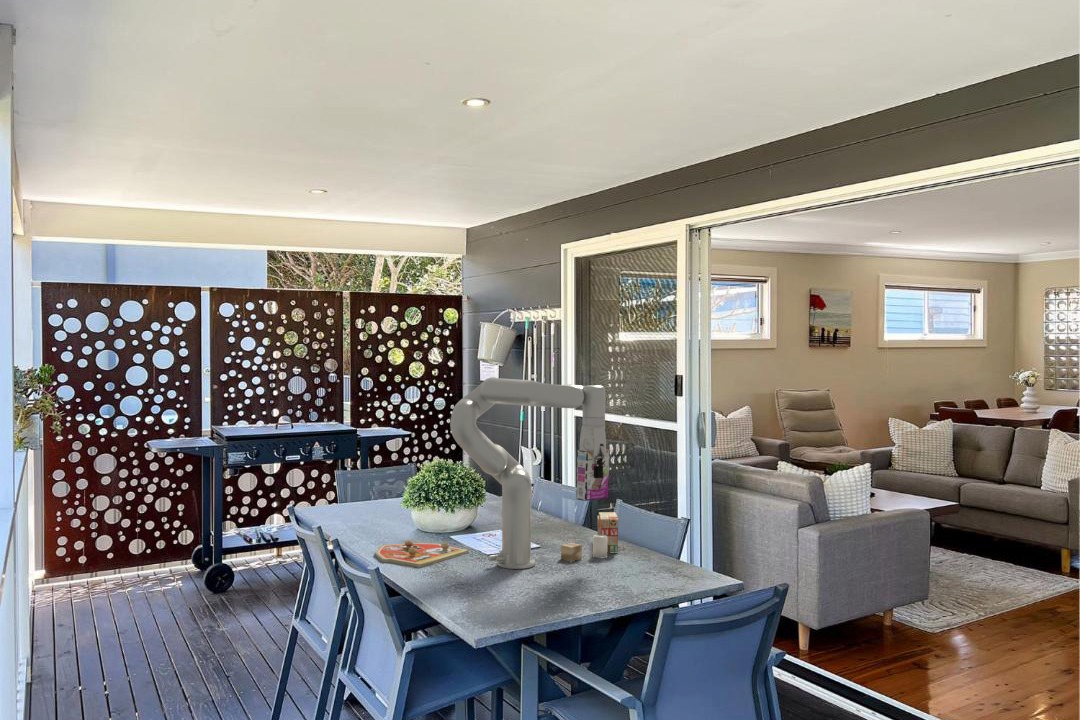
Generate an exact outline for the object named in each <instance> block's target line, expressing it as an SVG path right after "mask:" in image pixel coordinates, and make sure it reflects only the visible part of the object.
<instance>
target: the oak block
mask: <svg viewBox="0 0 1080 720" xmlns="http://www.w3.org/2000/svg"><path fill="white" fill-rule="evenodd" d="M582 547H583V546H582V544H578V543H574V542H569V543H564V544H561V545H560V560H562V559H565V560H564V561H566V560H568V561H567V562H570V561H573V562H576V561H575V560H577V561H580V560H579V559H582V558H583V556H582V555H583V554H582V553H583V551H582V550H583V549H582Z"/></svg>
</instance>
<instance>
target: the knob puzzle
mask: <svg viewBox="0 0 1080 720" xmlns="http://www.w3.org/2000/svg"><path fill="white" fill-rule="evenodd" d="M469 553H470V551H469V549H465V548H459V547H456V546H455V547H453V546H450V544H449V543H448V542H442V543H435V542H434V543H430V542H414V541H413V540H411V539H407V540H406V541H405V542H404V543H392V544H382V545H380V547H378V548H377V549H376V551H375V558H377V560H378V561H380V562H381V563H384V564H395V565H402V566H407V567H413V568H417V569H422V568H425V567H428V566H431V565H435V564H438V563H441V562H444V561H447V560H450V559H454V558H457V557H461V556H463V555H466V554H469Z"/></svg>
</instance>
